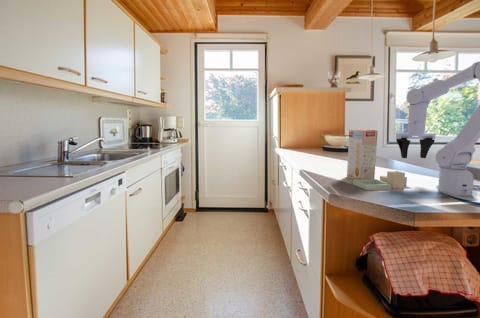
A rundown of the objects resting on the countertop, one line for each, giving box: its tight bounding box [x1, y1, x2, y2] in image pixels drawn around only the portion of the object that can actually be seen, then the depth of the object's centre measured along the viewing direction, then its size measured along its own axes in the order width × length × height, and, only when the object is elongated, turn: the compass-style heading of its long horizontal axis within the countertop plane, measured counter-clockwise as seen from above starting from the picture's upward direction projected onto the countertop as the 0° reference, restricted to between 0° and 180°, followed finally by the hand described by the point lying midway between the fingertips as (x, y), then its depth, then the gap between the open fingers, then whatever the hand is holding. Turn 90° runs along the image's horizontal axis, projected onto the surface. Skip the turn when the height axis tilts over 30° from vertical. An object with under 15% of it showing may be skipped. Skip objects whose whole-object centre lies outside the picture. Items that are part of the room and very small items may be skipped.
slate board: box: [391, 185, 411, 190], centre depth 114 cm, size 8×8×1 cm
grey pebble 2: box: [404, 176, 408, 186], centre depth 116 cm, size 3×3×3 cm
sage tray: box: [352, 178, 392, 191], centre depth 113 cm, size 10×9×2 cm
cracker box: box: [346, 128, 378, 181], centre depth 124 cm, size 14×6×21 cm, turn 1°
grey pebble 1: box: [379, 175, 387, 183], centre depth 116 cm, size 3×3×3 cm
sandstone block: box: [386, 170, 406, 190], centre depth 111 cm, size 4×4×6 cm
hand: (413, 158), depth 118 cm, fingers open, 7 cm apart
